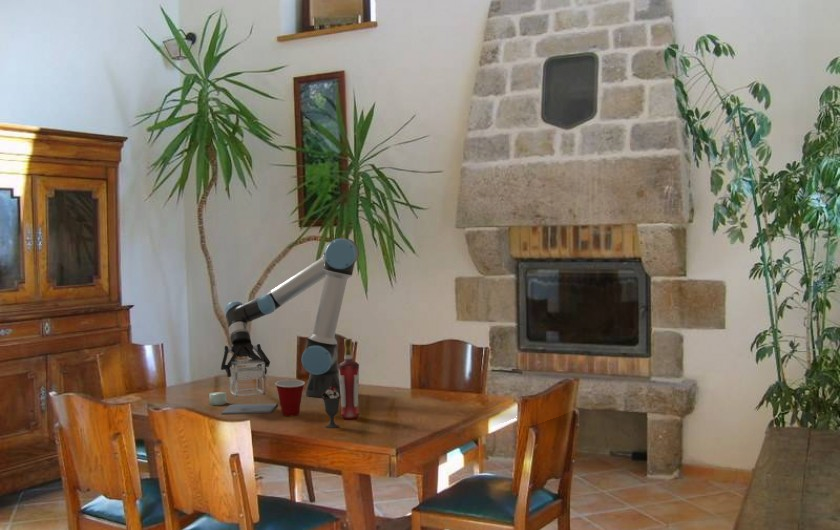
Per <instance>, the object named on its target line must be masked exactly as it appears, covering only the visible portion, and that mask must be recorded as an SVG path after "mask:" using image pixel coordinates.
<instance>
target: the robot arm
mask: <svg viewBox="0 0 840 530" xmlns="http://www.w3.org/2000/svg"><path fill="white" fill-rule="evenodd" d="M324 250H325V251H324V253H322V257H320V258H319V259H317V260H316V261H314V262H313V263H311V264H309V265H308V266H307V267H305V268H304V269H302V270H300V271H299V272H297V273H295V274H294V275H293V276H291V277H290V278H288V279H286V280H285V281H284V282H282V283H280V284H279V285H278V286H276V287H275V288H273V289H271V290H270V291H268V292H266V294H263V295H260V296H258V297H257V298H254V299H252V300H250V301H247V302H244V303H242V302H241V301H238V300H237V301H232V302H229V303H228V304H227V305H226V306H225V309H224V312H225V318H226V323H227V328H228V333H229V338H230V339H229V340H230V344H231V346H228V345H225V346H224V347H223V348H224V349H223V352H224V353H223V357H222V362H221V366H220V370H221V371H224V370H225V372H226V376H227V378H229V380H230V379H231V384H232V385H233V386H235V380H234V375H233V369H232V368H233V366H234V365H233V364H232V363H231V361H234V360H238V357H239V358H242V357H245V358H247V357H248V359H256V360H262V361H263V362H265V382H266V380H267V377H266V375H267V372H268V369H267V368H269V367H270V364H271V361H270V359H269V358H268V357H267V355H266V354H265V352H264V351H263V349H262V346H261V344H259V343H258V344H256V345H253V343H252V339H251V335H250V331H249V325H248V323H250V322H252V321H255V320H258V319H260V318H262V317H264V316H266V315H270V314H272V313H274V312H275V311H276V310H277V309H279V308H280V307H282V306H284V305H286V303H288V302H289V301H291V300H293V299H295V298H296V297H297V296H298V295H300V294H302V293H304V292H305V291H306V290H308V289H309V288H311V287H312V286H314V285H316V284H318V282H320V281H322V280H324V281H323V287H322V291H321V295H320V300H319V303H318V309H317V312H316V318H315V322H314V327H313V330H312V333H311V334H310V335H308V336H307V340H306V344H305V348H304V350H303V352H302V354H301V364H302V367H303V369H304V370H305V371H306V372H307V373H309V377H308V380H307V384H306V386H305V395H306V396H307V397H313V398H322V397H323V395H322V394H323V393H324V392H325V393H326V391H327V390H328V389H329V388H330V387H332V388H336V389H337V390H336V391H337V392H338V393H339V396H340V383H339V369H338V365H339V361H338V346H339V344H338V340H337V339H336V337H335V335H336V332H337V327H338V322H339V317H340V313H341V309H342V304H343V299H344V296H345V292H346V291H345V290H346V286H347V282H348V279H349V278H350V277H352V276H353V273H354V268H355V264H356V262H357V261H358V259H359V257H360V251H359V247H358V245H357V244H356V243H355V241H353V240H352V239H350V238H343V237H342V238H340V237H339V238H335V239H333V240H332V241H331V242H329V243H328V244H327V246H326V248H325V249H324ZM231 352H232V353H233V354H232V355H231V357H230V359H229V361H228V363H227V359H228V355H229V354H230V353H231ZM255 352H256V353H257V354H256V353H255ZM226 363H227V364H226ZM258 365H259V367H260V368H262V364H258ZM231 366H232V367H231ZM262 382H263V379H262ZM334 382H336V383H335V387H334V385H333V384H334ZM332 385H333V386H332Z"/></svg>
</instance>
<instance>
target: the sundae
mask: <svg viewBox="0 0 840 530" xmlns="http://www.w3.org/2000/svg"><path fill="white" fill-rule="evenodd" d="M335 383H336V382H334V384H333V385H334V387H335ZM333 385H332V386H333ZM336 390H337V389H336V388H332V387H330V388H329V389H328V390H327V391H326V393H325V392H324V393H323V394H322V395H323V397H321V399H323V403H324V409H325V413H326V415H327V416H329V418H330V422H329V424H328V425H327V424H326V425H325V426H324V427H325V428H326V429H338V428H340V425H338V424H336V423H335V416H336V415H337V414H338V413H339V405H340V400H341V396H340V395H339V393H338V392H337V391H336ZM337 427H338V428H337Z"/></svg>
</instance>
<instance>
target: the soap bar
mask: <svg viewBox="0 0 840 530" xmlns="http://www.w3.org/2000/svg"><path fill="white" fill-rule="evenodd" d="M208 395H209V396H208V397H209V405H210V406H222V405H225V404H226V405H227V392H224V391H217V392H209V394H208Z"/></svg>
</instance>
